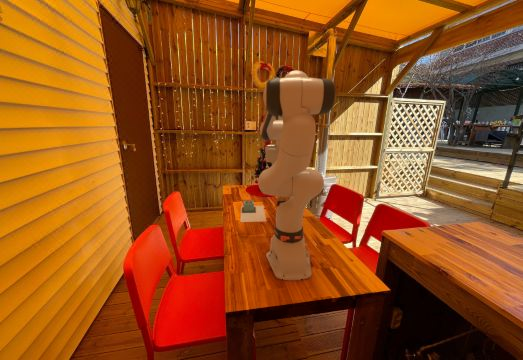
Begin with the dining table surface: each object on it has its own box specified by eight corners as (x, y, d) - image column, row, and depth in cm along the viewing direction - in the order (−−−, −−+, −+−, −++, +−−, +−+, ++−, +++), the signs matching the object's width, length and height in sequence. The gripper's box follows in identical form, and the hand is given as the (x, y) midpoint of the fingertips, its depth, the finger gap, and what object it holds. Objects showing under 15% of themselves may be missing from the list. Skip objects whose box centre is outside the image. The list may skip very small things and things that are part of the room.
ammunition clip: (276, 208, 145) (277, 191, 142) (276, 207, 147) (276, 190, 144) (292, 207, 147) (292, 190, 143) (291, 206, 148) (291, 190, 145)
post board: (266, 223, 123) (266, 211, 121) (240, 224, 122) (240, 212, 120) (263, 207, 146) (263, 197, 144) (241, 208, 145) (241, 197, 143)
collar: (253, 211, 135) (253, 204, 134) (243, 211, 134) (243, 204, 133) (253, 207, 141) (253, 200, 140) (243, 207, 141) (243, 200, 139)
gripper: (265, 145, 112) (265, 171, 115) (303, 145, 113) (302, 170, 117) (264, 144, 118) (264, 168, 121) (300, 144, 119) (299, 168, 123)
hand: (283, 169), depth 119 cm, fingers open, 8 cm apart
